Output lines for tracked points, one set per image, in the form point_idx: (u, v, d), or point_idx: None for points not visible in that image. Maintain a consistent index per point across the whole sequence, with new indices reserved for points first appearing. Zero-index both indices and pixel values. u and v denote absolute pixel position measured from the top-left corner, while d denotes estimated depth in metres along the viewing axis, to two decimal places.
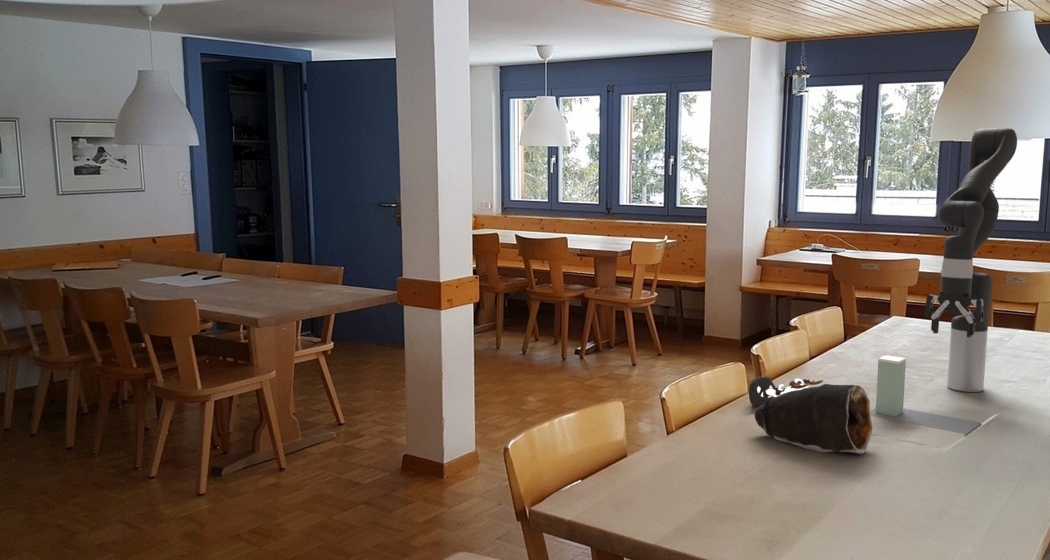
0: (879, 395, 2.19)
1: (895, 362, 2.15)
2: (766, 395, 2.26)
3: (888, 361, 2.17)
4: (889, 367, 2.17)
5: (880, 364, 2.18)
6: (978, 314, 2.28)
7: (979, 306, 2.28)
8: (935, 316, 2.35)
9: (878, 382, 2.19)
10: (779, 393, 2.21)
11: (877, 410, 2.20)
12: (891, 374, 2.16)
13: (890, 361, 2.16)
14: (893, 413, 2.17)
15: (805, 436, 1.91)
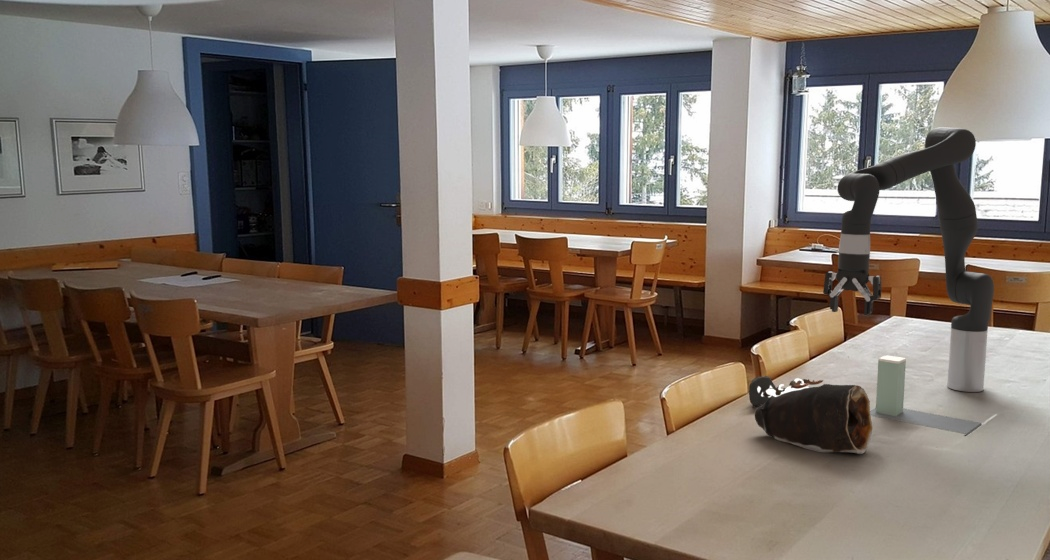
0: (879, 395, 2.19)
1: (895, 362, 2.15)
2: (766, 395, 2.26)
3: (888, 361, 2.17)
4: (889, 367, 2.17)
5: (880, 364, 2.18)
6: (875, 291, 2.19)
7: (876, 283, 2.19)
8: (833, 294, 2.27)
9: (878, 382, 2.19)
10: (779, 393, 2.21)
11: (877, 410, 2.20)
12: (891, 374, 2.16)
13: (890, 361, 2.16)
14: (893, 413, 2.17)
15: (805, 436, 1.91)
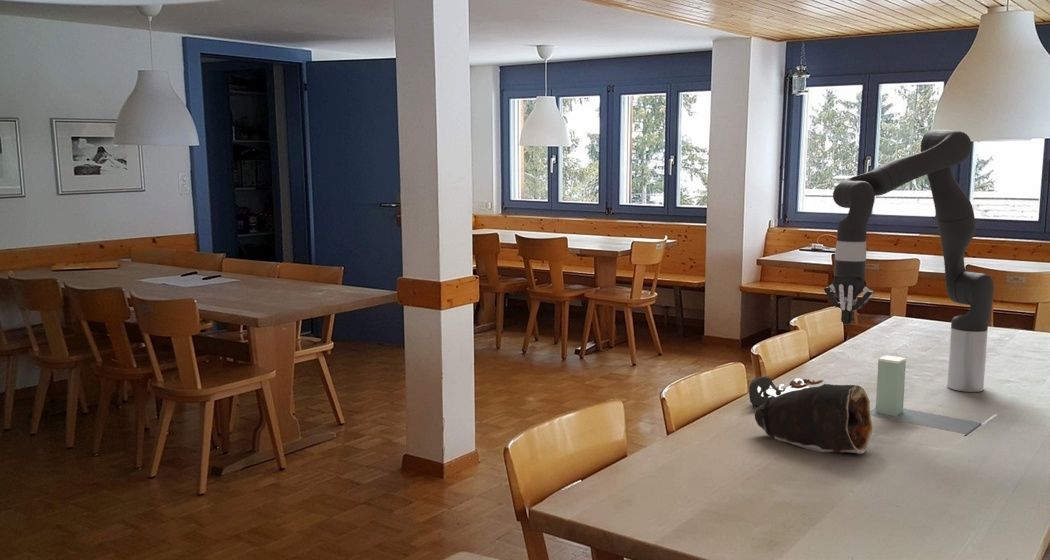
0: (879, 395, 2.19)
1: (895, 362, 2.15)
2: (766, 395, 2.26)
3: (888, 361, 2.17)
4: (889, 367, 2.17)
5: (880, 364, 2.18)
6: (859, 303, 2.22)
7: (865, 297, 2.20)
8: (844, 307, 2.24)
9: (878, 382, 2.19)
10: (779, 393, 2.21)
11: (877, 410, 2.20)
12: (891, 374, 2.16)
13: (890, 361, 2.16)
14: (893, 413, 2.17)
15: (805, 436, 1.91)
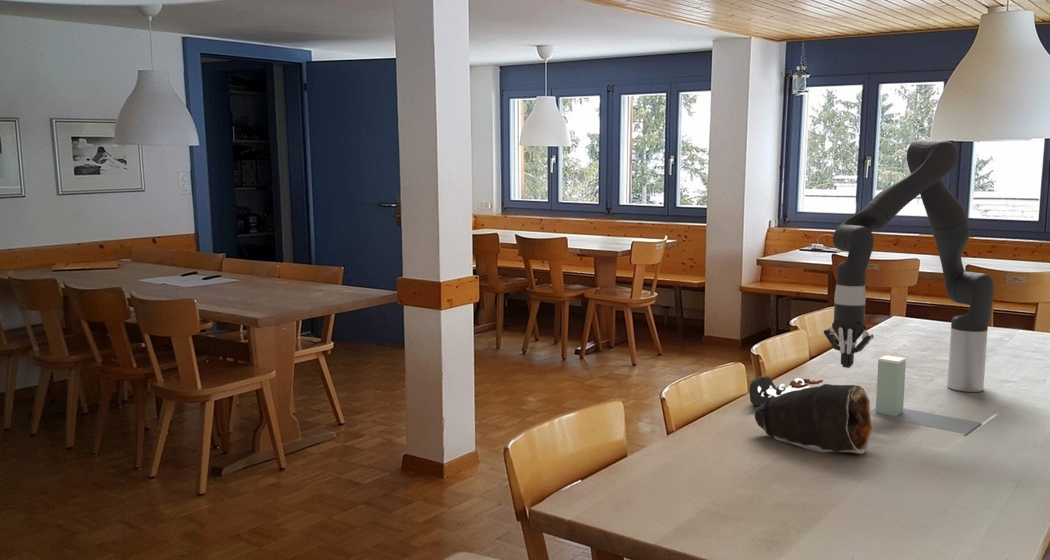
0: (879, 395, 2.19)
1: (895, 362, 2.15)
2: (766, 395, 2.26)
3: (888, 361, 2.17)
4: (889, 367, 2.17)
5: (880, 364, 2.18)
6: (859, 346, 2.23)
7: (865, 341, 2.22)
8: (844, 350, 2.26)
9: (878, 382, 2.19)
10: (780, 393, 2.21)
11: (877, 410, 2.20)
12: (891, 374, 2.16)
13: (890, 361, 2.16)
14: (893, 413, 2.17)
15: (805, 436, 1.91)
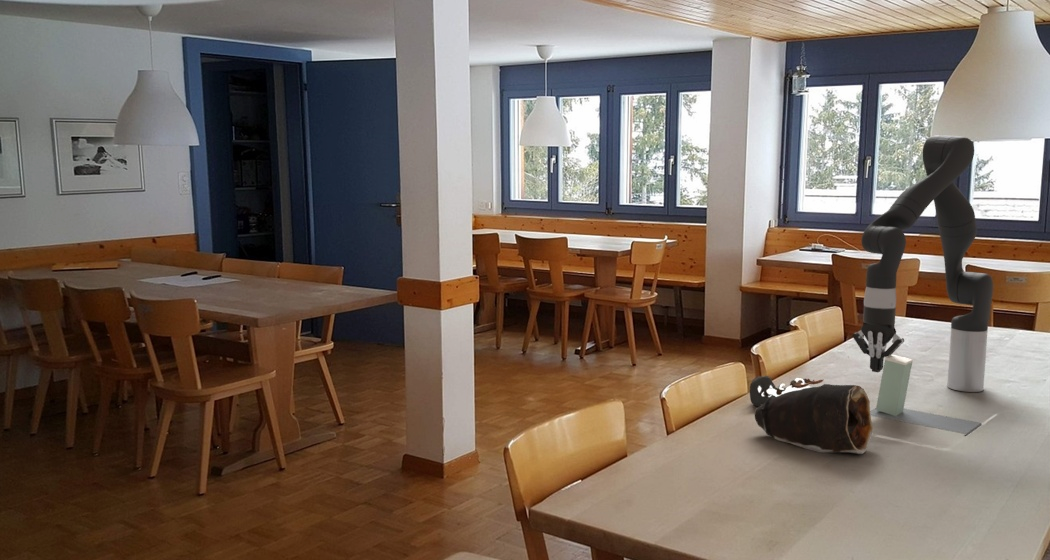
0: (881, 393, 2.19)
1: (902, 363, 2.14)
2: (767, 394, 2.26)
3: (895, 361, 2.16)
4: (895, 367, 2.16)
5: (886, 363, 2.17)
6: (889, 350, 2.18)
7: (895, 345, 2.16)
8: (873, 354, 2.20)
9: (882, 381, 2.18)
10: (780, 392, 2.21)
11: (877, 408, 2.20)
12: (896, 374, 2.16)
13: (897, 361, 2.15)
14: (893, 413, 2.17)
15: (805, 436, 1.91)
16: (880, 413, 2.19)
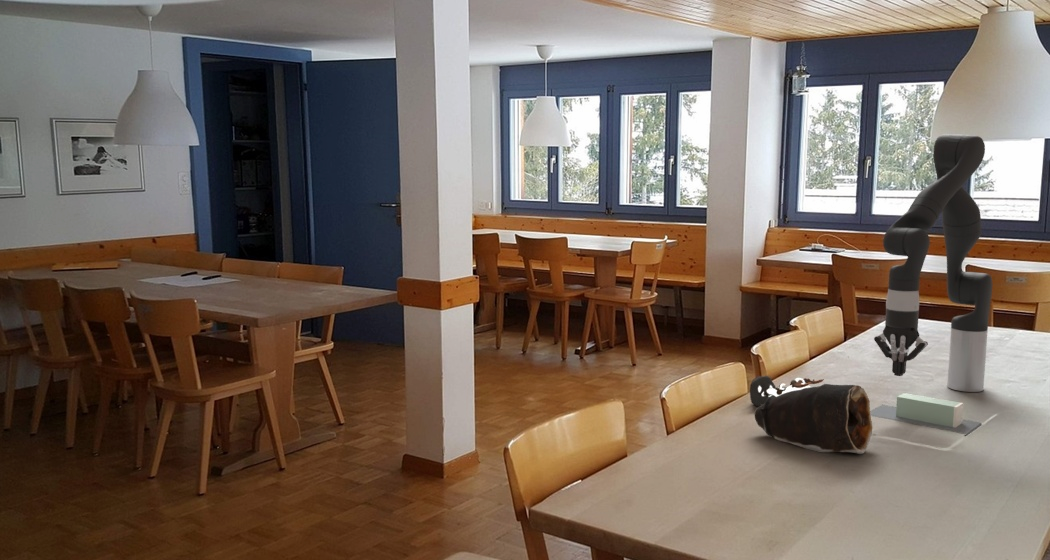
0: (915, 402, 2.13)
1: (953, 424, 2.07)
2: (767, 394, 2.26)
3: (954, 417, 2.07)
4: (947, 417, 2.08)
5: (950, 408, 2.08)
6: (912, 354, 2.14)
7: (919, 349, 2.13)
8: (896, 357, 2.17)
9: (929, 403, 2.11)
10: (780, 392, 2.22)
11: (899, 398, 2.16)
12: (940, 418, 2.09)
13: (954, 419, 2.07)
14: (898, 414, 2.16)
15: (805, 436, 1.91)
16: (880, 413, 2.19)
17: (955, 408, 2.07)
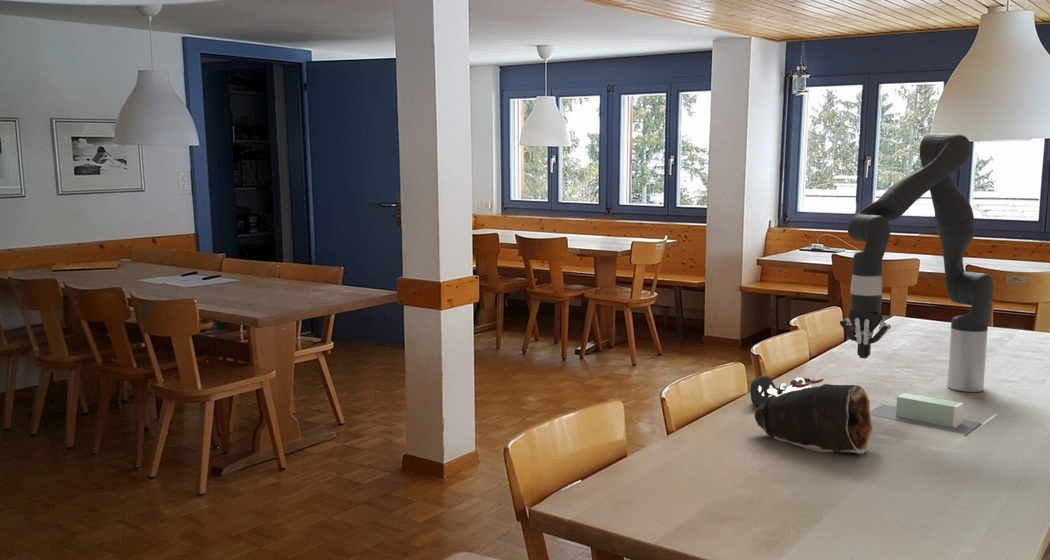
0: (915, 402, 2.13)
1: (953, 424, 2.07)
2: (767, 394, 2.27)
3: (954, 417, 2.07)
4: (947, 417, 2.08)
5: (950, 408, 2.08)
6: (876, 337, 2.21)
7: (882, 331, 2.20)
8: (861, 340, 2.24)
9: (929, 403, 2.11)
10: (781, 392, 2.22)
11: (899, 398, 2.16)
12: (940, 418, 2.09)
13: (954, 419, 2.07)
14: (898, 414, 2.16)
15: (805, 436, 1.91)
16: (880, 413, 2.19)
17: (955, 408, 2.07)
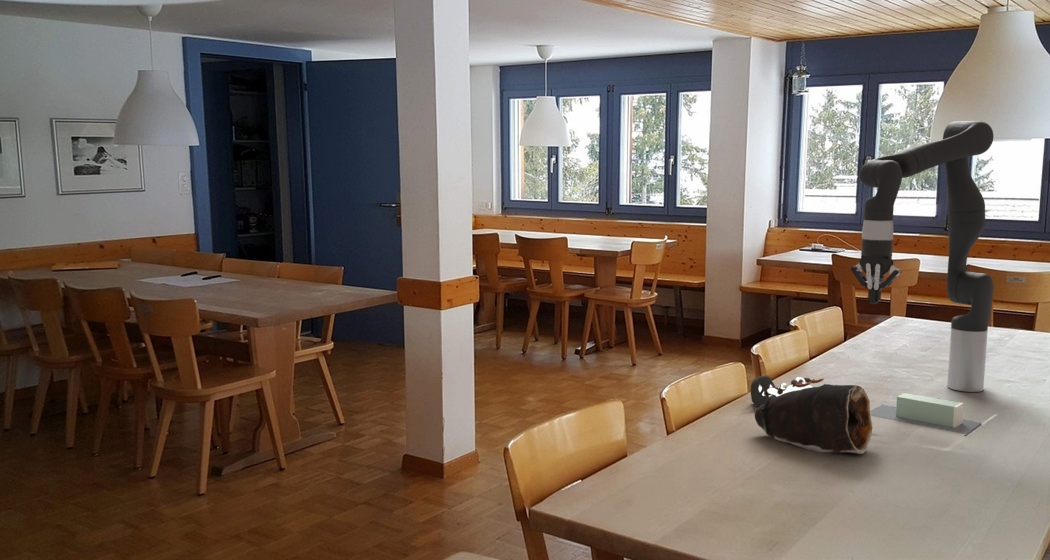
0: (915, 402, 2.13)
1: (953, 424, 2.07)
2: (767, 394, 2.27)
3: (954, 417, 2.07)
4: (947, 417, 2.08)
5: (950, 408, 2.08)
6: (886, 281, 2.23)
7: (893, 276, 2.22)
8: (871, 285, 2.26)
9: (929, 403, 2.11)
10: (781, 392, 2.22)
11: (899, 398, 2.16)
12: (940, 418, 2.09)
13: (954, 419, 2.07)
14: (898, 414, 2.16)
15: (805, 436, 1.91)
16: (880, 413, 2.19)
17: (955, 408, 2.07)
